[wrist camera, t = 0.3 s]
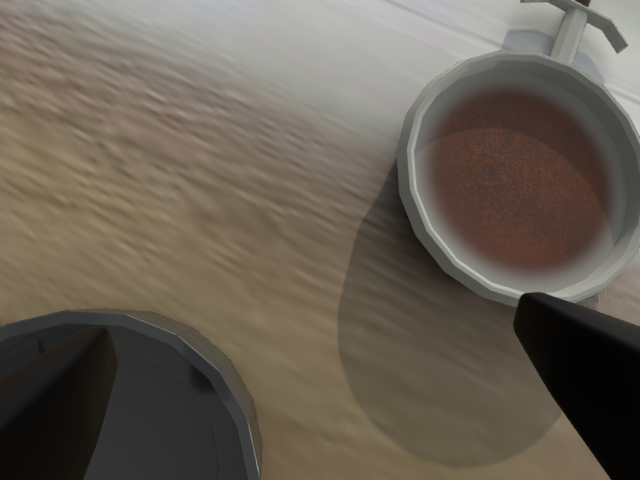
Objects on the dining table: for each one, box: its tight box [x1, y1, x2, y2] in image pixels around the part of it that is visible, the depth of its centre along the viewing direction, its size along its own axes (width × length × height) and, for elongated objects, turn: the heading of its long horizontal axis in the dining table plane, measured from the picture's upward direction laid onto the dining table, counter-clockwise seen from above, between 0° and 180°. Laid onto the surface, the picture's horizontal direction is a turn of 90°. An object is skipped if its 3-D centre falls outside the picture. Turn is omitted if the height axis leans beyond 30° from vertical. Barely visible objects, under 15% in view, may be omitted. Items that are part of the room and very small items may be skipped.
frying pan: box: [396, 0, 640, 308], centre depth 26 cm, size 17×3×28 cm
